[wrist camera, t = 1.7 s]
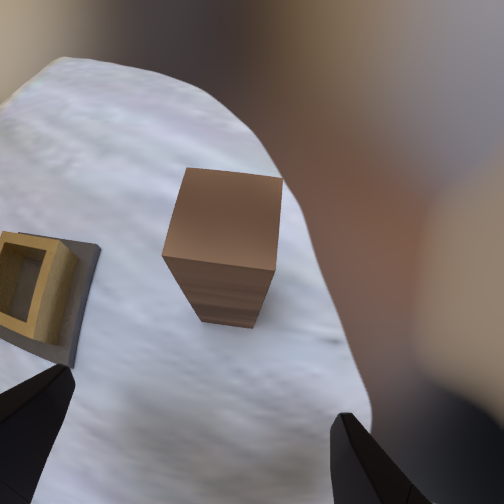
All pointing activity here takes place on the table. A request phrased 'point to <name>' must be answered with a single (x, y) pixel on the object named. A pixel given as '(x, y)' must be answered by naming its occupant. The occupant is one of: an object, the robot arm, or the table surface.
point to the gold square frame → (44, 293)
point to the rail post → (225, 243)
